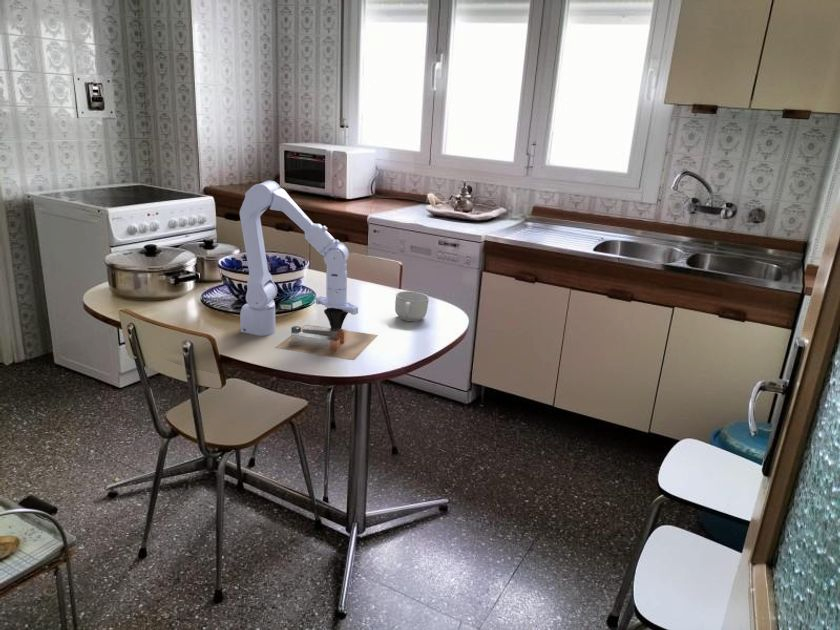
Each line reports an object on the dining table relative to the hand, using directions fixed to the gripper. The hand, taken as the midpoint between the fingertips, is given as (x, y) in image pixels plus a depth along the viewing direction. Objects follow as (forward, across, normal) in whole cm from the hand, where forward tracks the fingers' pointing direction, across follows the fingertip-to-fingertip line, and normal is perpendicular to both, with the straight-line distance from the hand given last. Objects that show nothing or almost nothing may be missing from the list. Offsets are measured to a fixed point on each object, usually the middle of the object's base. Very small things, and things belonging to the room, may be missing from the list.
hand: (336, 332), depth 177 cm
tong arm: (+1, -1, -4) cm, 4 cm away
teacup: (+3, +4, +30) cm, 30 cm away
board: (+3, 0, -4) cm, 5 cm away
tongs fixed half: (+1, 0, -8) cm, 8 cm away
